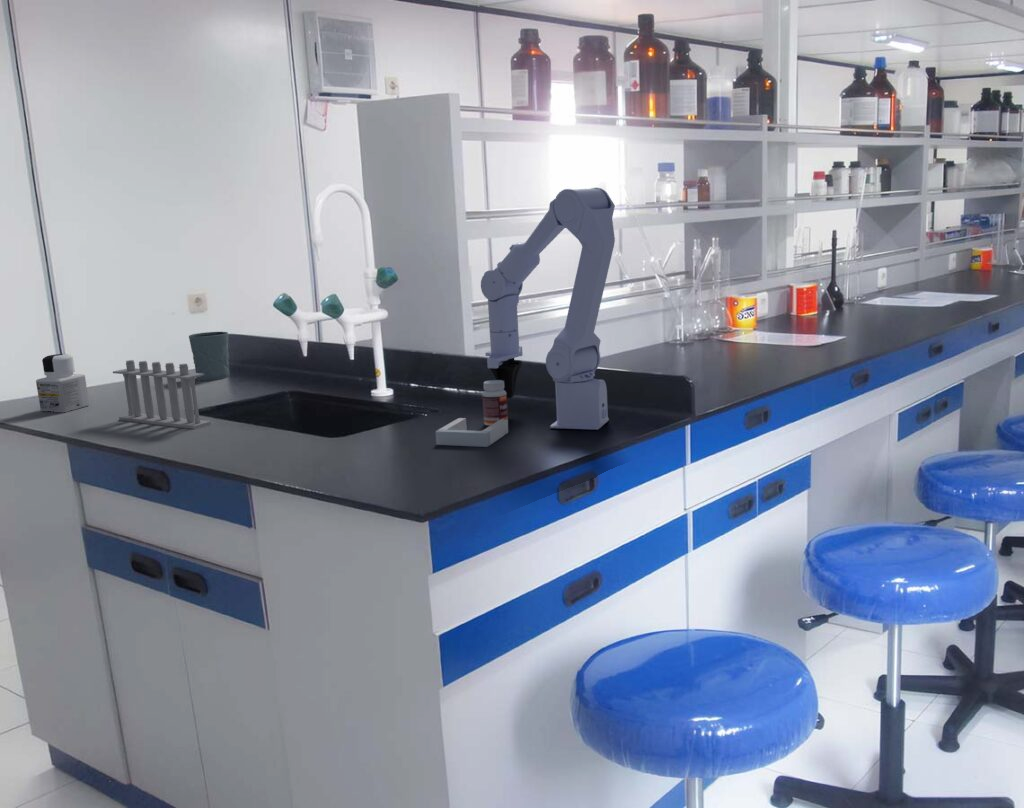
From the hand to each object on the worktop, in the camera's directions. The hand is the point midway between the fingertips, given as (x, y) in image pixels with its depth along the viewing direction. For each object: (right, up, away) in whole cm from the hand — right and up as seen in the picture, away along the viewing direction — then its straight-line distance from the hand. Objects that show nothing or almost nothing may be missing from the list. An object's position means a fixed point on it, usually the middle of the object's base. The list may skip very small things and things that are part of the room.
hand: (507, 397), depth 191 cm
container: (-106, -3, +35) cm, 111 cm away
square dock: (-6, -8, -16) cm, 18 cm away
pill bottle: (-2, -5, -6) cm, 8 cm away
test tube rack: (-74, -6, +13) cm, 76 cm away
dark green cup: (-80, +6, +67) cm, 105 cm away
